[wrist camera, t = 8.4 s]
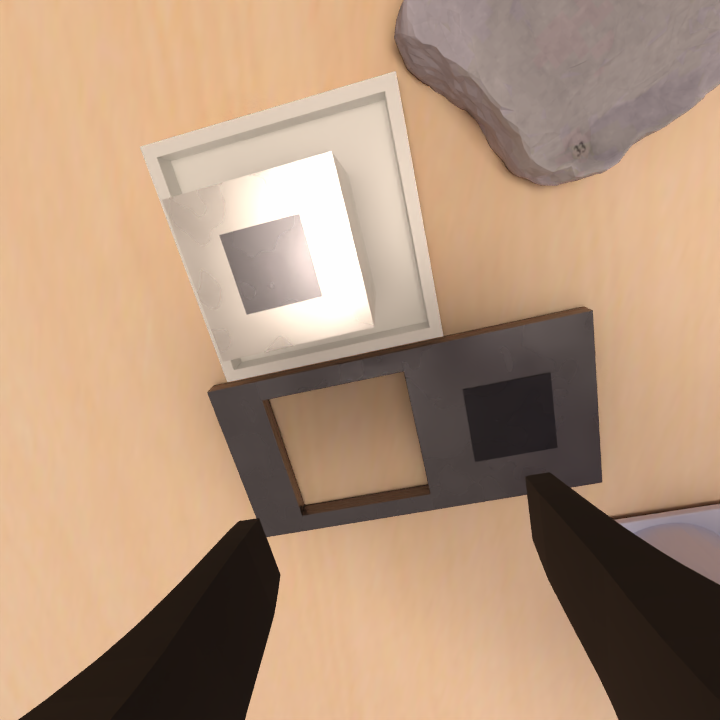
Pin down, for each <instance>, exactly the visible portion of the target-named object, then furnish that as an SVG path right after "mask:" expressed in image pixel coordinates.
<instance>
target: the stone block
mask: <svg viewBox="0 0 720 720" xmlns="http://www.w3.org/2000/svg"><path fill="white" fill-rule="evenodd" d="M394 39H395V41H396V44H397V47H398V49H399V51H400V54H401V56H402V58H403V60H404V63H405V65H406V67H407V69H408V70H409V71H410V72H411V73H412V74H413V75H415V76H416V77H417V78H418V79H419V80H421V81H422V82H423V83H425V84H427V85H429V86H430V87H431V88H432V89H433V90H434V91H435V92H437V93H439V94H441V95H443V96H445V97H446V98H447V99H448V100H449V101H450V102H451V103H453V104H454V105H456V106H457V107H459V108H460V109H463V110H466V111H467V112H468V113H469V114H470V115H471V116H472V117H473V118H474V119H475V120H476V121H477V123H478V124H479V126H480V128H481V130H482V132H483V133H484V135H485V137H486V139H487V141H488V143H489V145H490V147H491V148H492V149H493V151H494V152H495V153H496V154H497V155H498V156H499V157H500V158H501V159H502V161H503V162H504V163H505V165H506V167H507V168H508V169H509V170H510V171H511V172H512V173H513V174H515V175H516V176H518V177H522V178H526V179H528V180H530V181H532V182H534V183H535V184H540V185H559V184H562V183H567V182H571V181H576V180H580V179H583V178H586V177H589V176H591V175H594V174H601V173H603V172H604V171H606V170H608V169H610V168H611V167H613V166H614V165H616V164H617V163H618V162H619V161H620V160H621V159H622V157H623V156H624V155H625V153H626V152H627V151H628V149H629V148H630V147H631V146H632V145H633V144H635V143H636V142H638V141H639V140H641V139H643V138H644V137H646V136H648V135H650V134H652V133H654V132H656V131H658V130H660V129H662V128H664V127H665V126H667V125H668V124H670V123H671V122H672V121H674V120H675V119H677V118H678V117H680V116H681V115H683V114H685V113H686V112H687V111H689V110H690V109H691V108H693V107H694V106H695V105H696V104H697V103H698V102H699V101H701V100H702V99H703V98H704V96H705V95H706V94H707V93H709V92H710V91H711V90H713V89H714V88H715V87H717V86H718V85H719V84H720V0H404V1H403V3H402V5H401V7H400V10H399V14H398V17H397V20H396V28H395V35H394Z"/></svg>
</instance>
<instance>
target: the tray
mask: <svg viewBox="0 0 720 720" xmlns="http://www.w3.org/2000/svg"><path fill="white" fill-rule="evenodd" d="M140 149H141V151H142V154H143V157H144V159H145V162H146V165H147V167H148V170H149V173H150V176H151V178H152V181H153V184H154V186H155V189H156V192H157V194H158V197H159V200H160V202H161V205H162V208H163V211H164V213H165V216H166V219H167V221H168V224H169V227H170V229H171V232H172V235H173V237H174V240H175V243H176V245H177V248H178V251H179V254H180V256H181V259H182V262H183V264H184V267H185V270H186V272H187V275H188V278H189V280H190V283H191V286H192V288H193V291H194V294H195V297H196V299H197V302H198V305H199V307H200V310H201V313H202V315H203V318H204V321H205V323H206V326H207V329H208V332H209V334H210V337H211V340H212V342H213V345H214V348H215V350H216V353H217V356H218V358H219V361H220V364H221V366H222V369H223V372H224V375H225V377H226V380H227V382H231V381H236V380H241V379H245V378H250V377H255V376H259V375H264V374H269V373H273V372H278V371H283V370H287V369H292V368H297V367H301V366H306V365H311V364H315V363H320V362H325V361H329V360H334V359H339V358H343V357H348V356H353V355H357V354H362V353H367V352H371V351H376V350H381V349H386V348H390V347H395V346H400V345H404V344H409V343H414V342H418V341H423V340H428V339H432V338H437V337H442V336H443V331H442V325H441V320H440V314H439V308H438V303H437V297H436V292H435V286H434V281H433V275H432V270H431V264H430V258H429V253H428V247H427V242H426V236H425V231H424V225H423V219H422V214H421V208H420V203H419V197H418V192H417V186H416V181H415V175H414V169H413V164H412V158H411V153H410V147H409V142H408V136H407V130H406V125H405V119H404V114H403V108H402V103H401V97H400V92H399V86H398V80H397V75H396V71H394V72H391V73H387V74H384V75H380V76H377V77H374V78H370V79H367V80H364V81H360V82H357V83H353V84H350V85H347V86H343V87H340V88H337V89H333V90H330V91H326V92H323V93H320V94H316V95H313V96H310V97H306V98H303V99H299V100H296V101H293V102H289V103H286V104H283V105H279V106H276V107H272V108H269V109H266V110H262V111H259V112H256V113H252V114H249V115H245V116H242V117H239V118H235V119H232V120H228V121H225V122H222V123H218V124H215V125H212V126H208V127H205V128H201V129H198V130H195V131H191V132H188V133H185V134H181V135H178V136H174V137H171V138H168V139H164V140H161V141H158V142H154V143H151V144H147V145H144V146H141V147H140ZM331 151H332V153H333V154H334V155H335V157H336V158H337V160H338V161H339V162H340V164H341V165H342V167H343V168H344V169H345V171H346V172H347V173H348V177H349V181H350V185H351V189H352V194H353V198H354V202H355V206H356V211H357V215H358V219H359V223H360V228H361V232H362V236H363V240H364V245H365V249H366V253H367V257H368V262H369V266H370V270H371V274H372V279H373V283H374V287H375V291H376V301H375V323H374V327H373V328H368V329H364V330H360V331H355V332H351V333H347V334H342V335H338V336H334V337H329V338H325V339H320V340H316V341H312V342H307V343H303V344H299V345H294V346H290V347H285V348H281V349H277V350H272V351H268V352H264V353H259V354H255V355H250V356H246V357H242V358H237V359H233V360H229V361H224V362H223V360H222V358H221V355H220V352H219V350H218V347H217V344H216V342H215V339H214V336H213V334H212V331H211V328H210V326H209V323H208V321H207V318H206V315H205V313H204V310H203V307H202V305H201V302H200V299H199V297H198V294H197V291H196V289H195V286H194V283H193V281H192V278H191V275H190V273H189V270H188V268H187V265H186V262H185V260H184V257H183V254H182V252H181V249H180V246H179V244H178V241H177V238H176V236H175V233H174V230H173V228H172V225H171V223H170V220H169V217H168V215H167V212H166V209H165V207H164V204H163V201H162V200H163V199H167V198H170V197H174V196H177V195H181V194H184V193H188V192H191V191H195V190H198V189H202V188H205V187H209V186H212V185H216V184H219V183H222V182H226V181H229V180H233V179H236V178H240V177H243V176H247V175H250V174H254V173H257V172H261V171H264V170H268V169H271V168H275V167H278V166H282V165H285V164H289V163H292V162H296V161H299V160H303V159H306V158H310V157H313V156H317V155H320V154H324V153H327V152H331Z"/></svg>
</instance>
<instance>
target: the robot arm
mask: <svg viewBox="0 0 720 720" xmlns="http://www.w3.org/2000/svg"><path fill="white" fill-rule="evenodd" d="M525 480H526V488H527V497H528V505H529V513H530V522H531V530H532V538H533V542H534V544H535V547H536V550H537V552H538V555H539V557H540V560H541V563H542V565H543V568H544V570H545V573H546V575H547V578H548V580H549V582H550V584H551V586H552V588H553V590H554V592H555V594H556V595H557V597H558V599H559V601H560V603H561V605H562V607H563V609H564V611H565V613H566V615H567V617H568V619H569V621H570V622H571V624H572V626H573V628H574V630H575V632H576V634H577V636H578V638H579V640H580V642H581V643H582V645H583V647H584V649H585V651H586V653H587V655H588V657H589V659H590V661H591V663H592V664H593V666H594V668H595V670H596V672H597V674H598V676H599V678H600V680H601V682H602V684H603V686H604V688H605V690H606V692H607V695H608V697H609V699H610V701H611V703H612V705H613V708H614V710H615V712H616V715H617V717H618V719H619V720H720V504H715V505H708V506H702V507H695V508H689V509H682V510H675V511H669V512H662V513H656V514H649V515H643V516H636V517H629V518H623V519H616V520H613V519H612V518H611V517H609V516H608V515H606V514H605V513H603V512H602V511H601V510H599V509H598V508H597V507H595V506H594V505H593V504H591V503H590V502H589V501H587V500H586V499H585V498H583V497H582V496H581V495H579V494H578V493H577V492H575V491H574V490H573V489H571V488H570V487H569V486H568V485H566V484H565V483H564V482H562V481H561V480H560V479H558V478H557V477H556V476H555V475H553V474H552V473H550V472H548V473H541V474H535V475H529V476H525ZM279 581H280V572H279V570H278V567H277V564H276V562H275V559H274V556H273V554H272V551H271V548H270V546H269V543H268V540H267V538H266V535H265V532H264V530H263V527H262V524H261V522H260V519H259V518H257V519H250V520H244V521H239V522H237V523H236V524H235V525H234V526H233V527H232V528H231V529H230V530H229V531H228V532H227V533H226V534H225V535H224V536H223V538H222V539H221V540H220V541H219V542H218V543H217V544H216V545H215V546H214V547H213V548H212V549H211V550H210V551H209V552H208V553H207V555H206V556H205V557H204V558H203V559H202V560H201V561H200V562H199V563H198V564H197V565H196V566H195V567H194V568H193V569H192V570H191V571H190V573H189V574H188V575H187V576H186V577H185V578H184V579H183V580H182V581H181V582H180V583H179V584H178V585H177V586H176V587H175V588H174V589H173V590H172V591H171V592H170V593H169V594H168V595H167V596H166V597H165V598H164V599H163V600H162V601H161V602H160V603H159V604H158V605H157V606H156V607H155V608H154V609H153V610H152V611H151V612H150V613H149V614H148V615H147V616H146V617H145V618H143V619H142V620H141V621H140V622H139V623H138V624H137V625H136V626H135V627H134V628H133V629H132V630H130V631H129V632H128V633H127V634H126V635H125V636H124V637H123V638H121V639H120V640H119V641H118V642H117V643H116V644H115V645H113V646H112V647H111V648H110V649H109V650H108V651H106V652H105V653H104V654H103V655H102V656H101V657H99V658H98V659H97V660H96V661H95V662H93V663H92V664H91V665H90V666H88V667H87V668H86V669H85V670H83V671H82V672H81V673H79V674H78V675H77V676H76V677H74V678H73V679H72V680H70V681H69V682H68V683H67V684H65V685H64V686H63V687H62V688H60V689H59V690H58V691H56V692H55V693H54V694H53V695H51V696H50V697H49V698H47V699H46V700H45V701H43V702H42V703H41V704H39V705H38V706H37V707H35V708H34V709H32V710H31V711H30V712H28V713H27V714H26V715H24V716H23V717H21V718H20V719H19V720H245V718H246V713H247V710H248V706H249V703H250V699H251V696H252V692H253V689H254V685H255V681H256V678H257V674H258V671H259V667H260V664H261V660H262V657H263V653H264V650H265V646H266V643H267V639H268V635H269V632H270V628H271V625H272V621H273V617H274V613H275V607H276V601H277V595H278V588H279Z"/></svg>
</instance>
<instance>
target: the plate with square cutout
mask: <svg viewBox="0 0 720 720" xmlns="http://www.w3.org/2000/svg"><path fill="white" fill-rule="evenodd" d="M403 371H404V374H405V379H406V383H407V388H408V393H409V397H410V402H411V406H412V411H413V415H414V420H415V425H416V429H417V434H418V438H419V443H420V447H421V452H422V457H423V461H424V466H425V470H426V475H427V479H428V484H429V485H424V486H418V487H412V488H407V489H401V490H395V491H389V492H383V493H377V494H371V495H366V496H360V497H354V498H348V499H342V500H336V501H330V502H325V503H319V504H313V505H307V506H305V505H304V502H303V499H302V497H301V494H300V491H299V488H298V485H297V482H296V479H295V476H294V473H293V470H292V467H291V464H290V461H289V458H288V456H287V453H286V450H285V447H284V444H283V441H282V438H281V435H280V432H279V429H278V426H277V423H276V420H275V418H274V415H273V412H272V409H271V406H270V403H269V400H268V399H272V398H277V397H282V396H287V395H292V394H296V393H301V392H306V391H311V390H316V389H321V388H326V387H330V386H335V385H340V384H345V383H350V382H355V381H360V380H364V379H369V378H374V377H379V376H384V375H389V374H394V373H398V372H403ZM207 393H208V396H209V398H210V401H211V403H212V406H213V408H214V411H215V414H216V416H217V419H218V421H219V424H220V426H221V429H222V431H223V434H224V436H225V439H226V442H227V444H228V447H229V449H230V452H231V454H232V457H233V459H234V462H235V464H236V467H237V470H238V472H239V475H240V477H241V480H242V482H243V485H244V487H245V490H246V492H247V495H248V498H249V500H250V503H251V505H252V508H253V510H254V513H255V515H256V518H259V519H260V522H261V524H262V527H263V530H264V532H265V535H266V537H270V536H276V535H282V534H288V533H295V532H301V531H307V530H313V529H319V528H325V527H331V526H338V525H344V524H350V523H356V522H362V521H368V520H374V519H380V518H387V517H393V516H399V515H405V514H411V513H417V512H423V511H429V510H436V509H442V508H448V507H454V506H460V505H466V504H472V503H478V502H485V501H491V500H497V499H503V498H509V497H515V496H521V495H527V488H526V480H525V476H529V475H535V474H541V473H548V472H550V473H552V474H553V475H555V476H556V477H557V478H558V479H560V480H561V481H562V482H564V483H565V484H566V485H568V486H569V487H577V486H583V485H589V484H595V483H601V482H602V470H601V452H600V434H599V416H598V398H597V380H596V362H595V344H594V326H593V310H590V309H588V308H586V307H580V308H575V309H571V310H566V311H561V312H556V313H552V314H547V315H542V316H538V317H533V318H528V319H524V320H519V321H514V322H510V323H505V324H500V325H496V326H491V327H486V328H482V329H477V330H472V331H468V332H463V333H458V334H454V335H449V336H444V337H439V338H435V339H430V340H425V341H421V342H416V343H411V344H407V345H402V346H397V347H393V348H388V349H383V350H379V351H374V352H369V353H365V354H360V355H355V356H351V357H346V358H341V359H337V360H332V361H327V362H322V363H318V364H313V365H308V366H304V367H299V368H294V369H290V370H285V371H280V372H276V373H271V374H266V375H262V376H257V377H252V378H248V379H243V380H238V381H234V382H229V383H224V384H219V385H215V386H213V387H212V388H211V389H210V390H209V391H208V392H207Z"/></svg>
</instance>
